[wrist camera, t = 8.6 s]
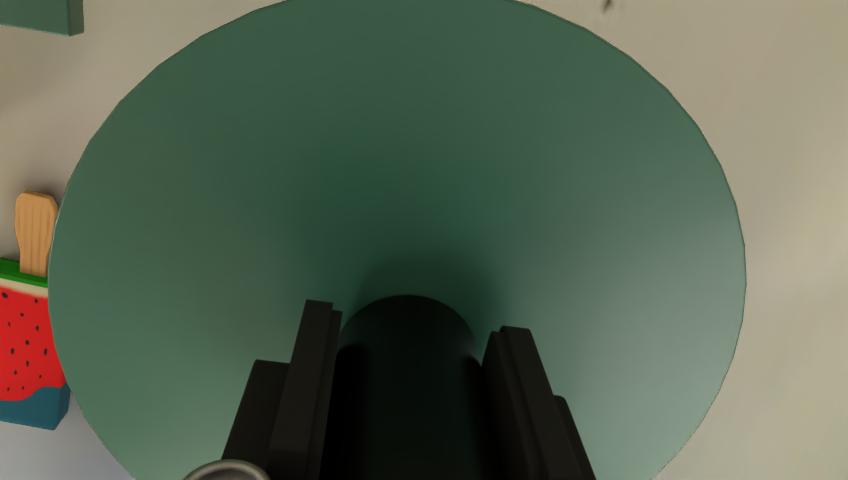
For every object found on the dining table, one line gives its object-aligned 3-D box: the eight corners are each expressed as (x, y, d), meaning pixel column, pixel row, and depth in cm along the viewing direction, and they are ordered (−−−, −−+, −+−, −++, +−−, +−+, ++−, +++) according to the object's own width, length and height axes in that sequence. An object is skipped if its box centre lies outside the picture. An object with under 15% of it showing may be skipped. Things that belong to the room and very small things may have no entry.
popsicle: (78, 211, 30) (62, 433, 36) (91, 200, 31) (74, 415, 37) (-21, 187, 29) (-20, 418, 35) (-3, 177, 30) (-5, 401, 37)
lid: (90, 515, 16) (-89, 847, 10) (45, -98, 10) (-473, -171, 4) (606, 560, 18) (712, 865, 12) (838, 61, 12) (1300, 175, 6)
